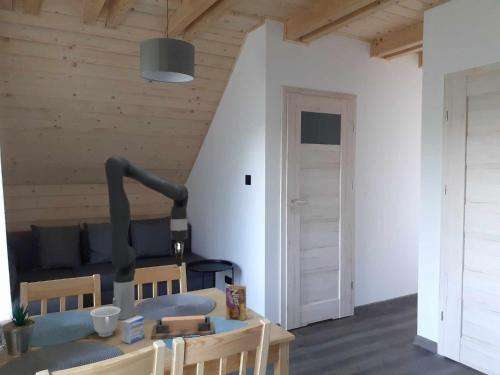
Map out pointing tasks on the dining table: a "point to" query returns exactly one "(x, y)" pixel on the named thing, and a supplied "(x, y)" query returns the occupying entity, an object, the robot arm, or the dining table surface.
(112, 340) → the dining table surface
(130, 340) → the medicine box
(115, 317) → the teacup
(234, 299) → the candy box
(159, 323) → the board
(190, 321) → the slat
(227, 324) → the dining table surface
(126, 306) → the robot arm
